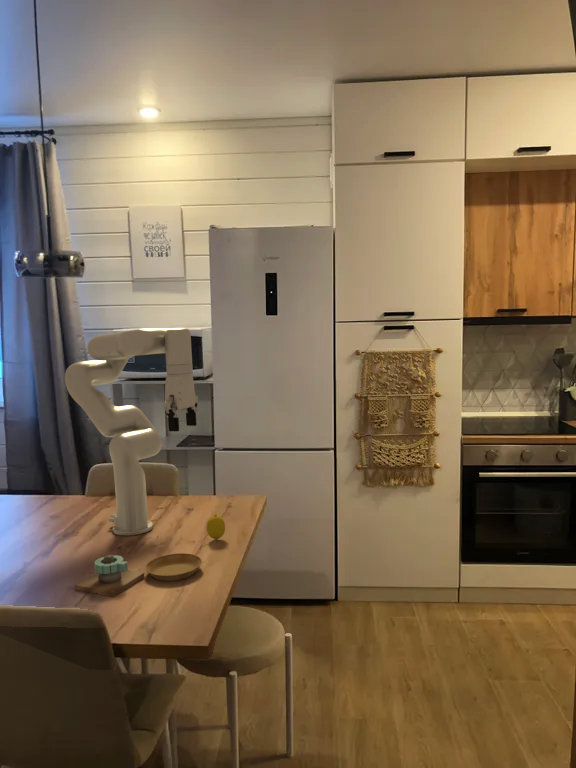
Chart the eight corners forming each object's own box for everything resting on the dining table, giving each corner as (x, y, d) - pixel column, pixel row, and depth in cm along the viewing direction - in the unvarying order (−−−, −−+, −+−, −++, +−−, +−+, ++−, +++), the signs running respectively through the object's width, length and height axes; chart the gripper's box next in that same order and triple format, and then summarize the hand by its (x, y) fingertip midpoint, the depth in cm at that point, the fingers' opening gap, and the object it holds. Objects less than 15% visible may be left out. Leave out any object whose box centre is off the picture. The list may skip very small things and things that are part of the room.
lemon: (222, 543, 180) (221, 517, 179) (204, 543, 181) (203, 517, 180) (228, 537, 185) (226, 511, 185) (210, 536, 187) (209, 511, 186)
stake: (75, 589, 152) (73, 562, 151) (107, 571, 162) (105, 545, 162) (113, 596, 147) (111, 568, 146) (144, 577, 158) (142, 551, 157)
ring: (89, 571, 152) (88, 563, 152) (107, 561, 159) (107, 553, 159) (116, 576, 149) (116, 568, 149) (134, 565, 155) (134, 558, 155)
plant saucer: (176, 589, 150) (175, 579, 150) (133, 578, 158) (133, 568, 158) (213, 568, 163) (213, 558, 162) (172, 558, 171) (172, 549, 170)
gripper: (184, 368, 187) (187, 423, 189) (151, 373, 171) (155, 433, 173) (205, 368, 184) (208, 423, 186) (174, 372, 168) (178, 433, 170)
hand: (183, 428), depth 179 cm, fingers open, 9 cm apart
